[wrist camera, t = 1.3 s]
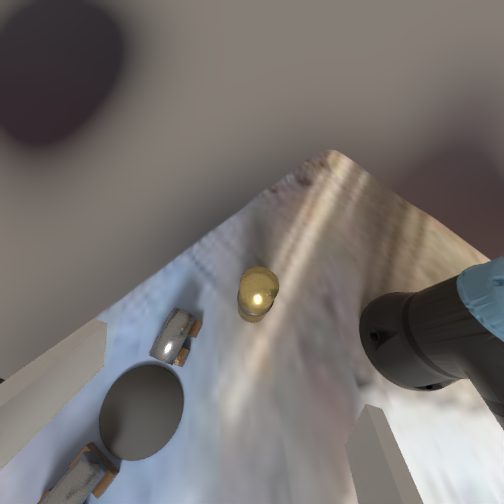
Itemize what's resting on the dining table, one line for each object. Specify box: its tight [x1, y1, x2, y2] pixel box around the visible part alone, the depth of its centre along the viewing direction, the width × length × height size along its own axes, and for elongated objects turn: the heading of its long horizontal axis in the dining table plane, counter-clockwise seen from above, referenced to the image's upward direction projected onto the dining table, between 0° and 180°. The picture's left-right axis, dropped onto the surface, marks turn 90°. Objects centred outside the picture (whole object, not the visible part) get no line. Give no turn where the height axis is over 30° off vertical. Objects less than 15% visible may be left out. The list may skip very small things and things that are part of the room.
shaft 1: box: [37, 443, 119, 504], centre depth 26 cm, size 8×5×5 cm, turn 144°
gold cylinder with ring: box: [237, 267, 279, 323], centre depth 35 cm, size 5×5×12 cm
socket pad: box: [99, 365, 183, 461], centre depth 33 cm, size 11×11×1 cm
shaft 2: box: [149, 308, 202, 367], centre depth 35 cm, size 7×5×5 cm
